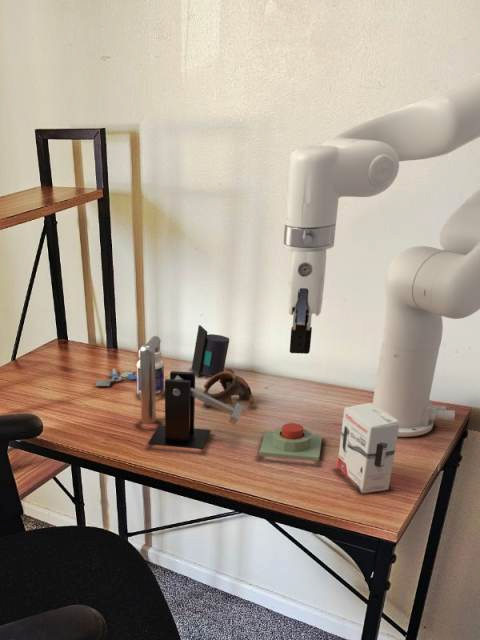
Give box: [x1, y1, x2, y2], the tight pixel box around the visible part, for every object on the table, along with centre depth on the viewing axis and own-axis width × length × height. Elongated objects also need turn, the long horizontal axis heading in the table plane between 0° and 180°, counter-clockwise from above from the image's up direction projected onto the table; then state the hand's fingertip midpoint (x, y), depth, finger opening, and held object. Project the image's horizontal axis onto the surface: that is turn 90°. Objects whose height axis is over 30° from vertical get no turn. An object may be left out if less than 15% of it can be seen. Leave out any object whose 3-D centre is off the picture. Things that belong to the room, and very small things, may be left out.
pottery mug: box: [202, 368, 254, 407], centre depth 144 cm, size 12×10×8 cm
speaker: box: [191, 324, 230, 378], centre depth 159 cm, size 8×6×10 cm
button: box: [281, 422, 304, 440], centre depth 124 cm, size 4×4×2 cm
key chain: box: [94, 368, 137, 387], centre depth 162 cm, size 14×8×1 cm, turn 118°
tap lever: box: [174, 375, 244, 426], centre depth 126 cm, size 13×6×2 cm, turn 71°
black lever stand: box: [148, 370, 212, 450], centre depth 128 cm, size 10×8×13 cm
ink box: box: [337, 402, 399, 494], centre depth 113 cm, size 8×5×12 cm, turn 11°
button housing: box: [258, 426, 323, 462], centre depth 125 cm, size 10×9×4 cm
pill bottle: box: [136, 349, 165, 397], centre depth 149 cm, size 6×6×10 cm
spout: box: [139, 335, 162, 425], centre depth 136 cm, size 4×9×16 cm, turn 162°
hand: (299, 351), depth 118 cm, fingers closed
